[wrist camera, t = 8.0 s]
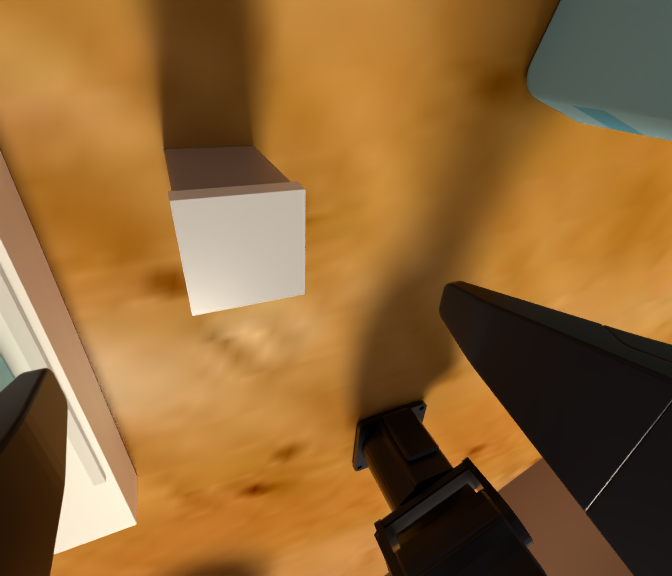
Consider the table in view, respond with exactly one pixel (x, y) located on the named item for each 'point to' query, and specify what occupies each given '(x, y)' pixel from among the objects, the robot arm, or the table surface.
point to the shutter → (4, 375)
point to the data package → (608, 65)
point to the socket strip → (61, 381)
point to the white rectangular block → (236, 227)
